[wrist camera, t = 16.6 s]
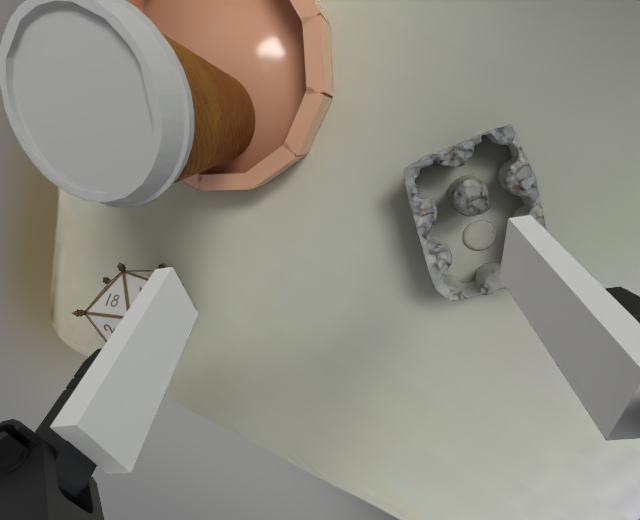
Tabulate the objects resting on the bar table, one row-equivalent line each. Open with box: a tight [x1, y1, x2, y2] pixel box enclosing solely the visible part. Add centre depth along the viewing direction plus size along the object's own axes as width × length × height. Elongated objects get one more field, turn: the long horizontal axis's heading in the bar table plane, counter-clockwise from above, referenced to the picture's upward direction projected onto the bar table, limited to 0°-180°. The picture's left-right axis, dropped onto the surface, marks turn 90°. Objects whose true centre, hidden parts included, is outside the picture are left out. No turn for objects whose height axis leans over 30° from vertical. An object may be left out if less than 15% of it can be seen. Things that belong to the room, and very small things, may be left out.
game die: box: [71, 262, 184, 342], centre depth 31 cm, size 9×8×10 cm
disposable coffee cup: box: [0, 0, 255, 207], centre depth 21 cm, size 10×10×12 cm
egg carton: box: [404, 124, 546, 301], centre depth 23 cm, size 11×8×4 cm
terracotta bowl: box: [126, 0, 333, 191], centre depth 25 cm, size 16×16×2 cm
